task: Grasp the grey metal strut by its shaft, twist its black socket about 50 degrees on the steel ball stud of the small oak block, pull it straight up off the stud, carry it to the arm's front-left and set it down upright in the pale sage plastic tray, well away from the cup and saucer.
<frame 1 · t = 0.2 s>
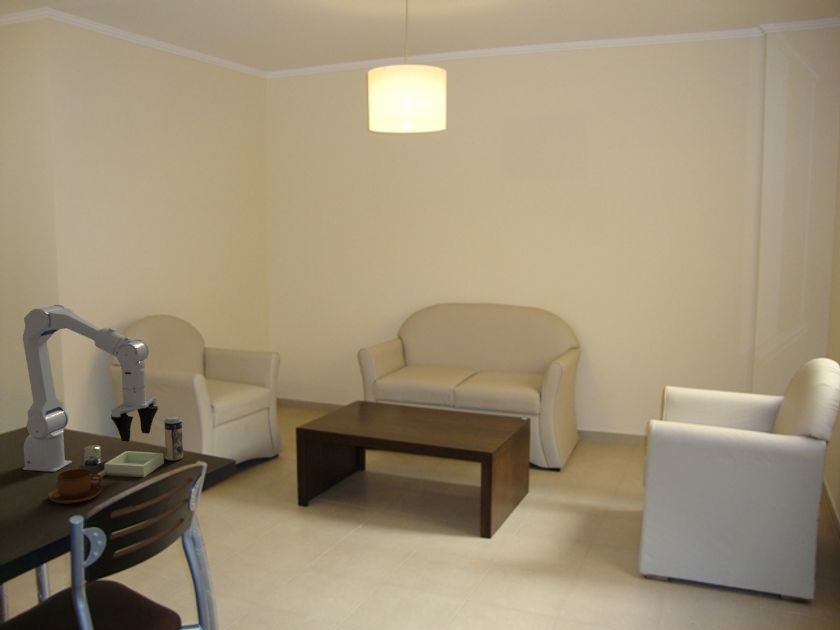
hand: (135, 436, 200), 10 cm above the table, tool pointing down, fingers open, 7 cm apart
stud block: (93, 473, 200), on the table
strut: (93, 470, 200), point 1 cm above the table, touching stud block
tray: (134, 469, 204), on the table
lidded jar: (174, 459, 213), on the table
cup and saucer: (75, 499, 183), on the table
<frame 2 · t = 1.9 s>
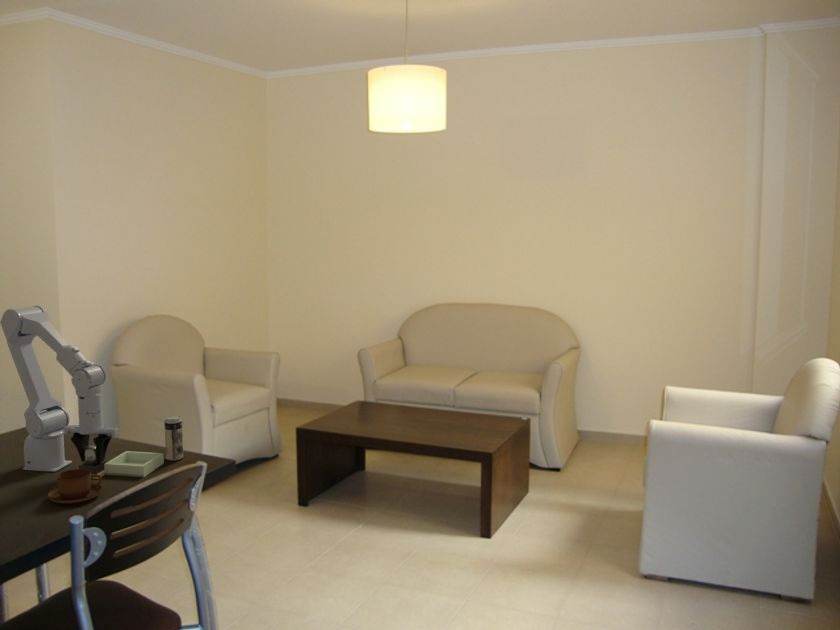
hand: (92, 461, 200), 3 cm above the table, tool pointing down, fingers closed on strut, 4 cm apart
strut: (93, 470, 200), point 1 cm above the table, touching gripper, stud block
everything else where it was.
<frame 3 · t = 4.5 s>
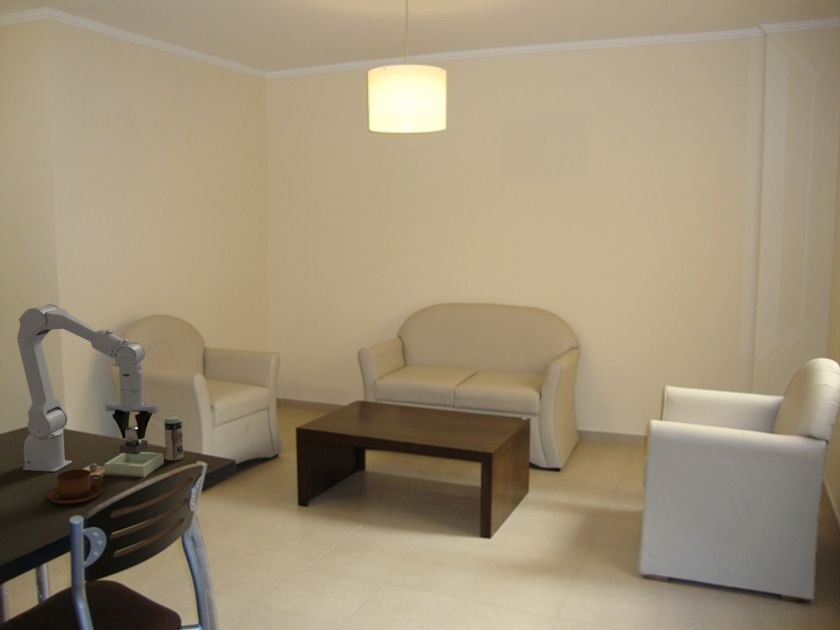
hand: (133, 438, 203), 9 cm above the table, tool pointing down, fingers closed on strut, 4 cm apart
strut: (134, 450, 203), point 5 cm above the table, touching gripper
everything else where it was.
when the fingers open (4 cm above the table, at t = 5.6 s): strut stays where it is, resting on tray.
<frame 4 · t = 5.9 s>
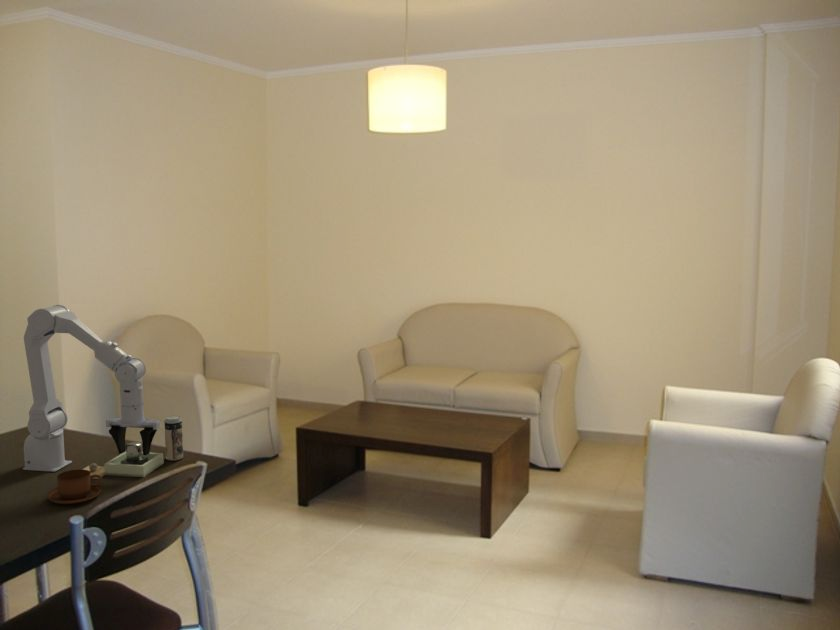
hand: (134, 453, 203), 4 cm above the table, tool pointing down, fingers open, 6 cm apart
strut: (134, 467, 204), point 1 cm above the table, touching tray
everything else where it was.
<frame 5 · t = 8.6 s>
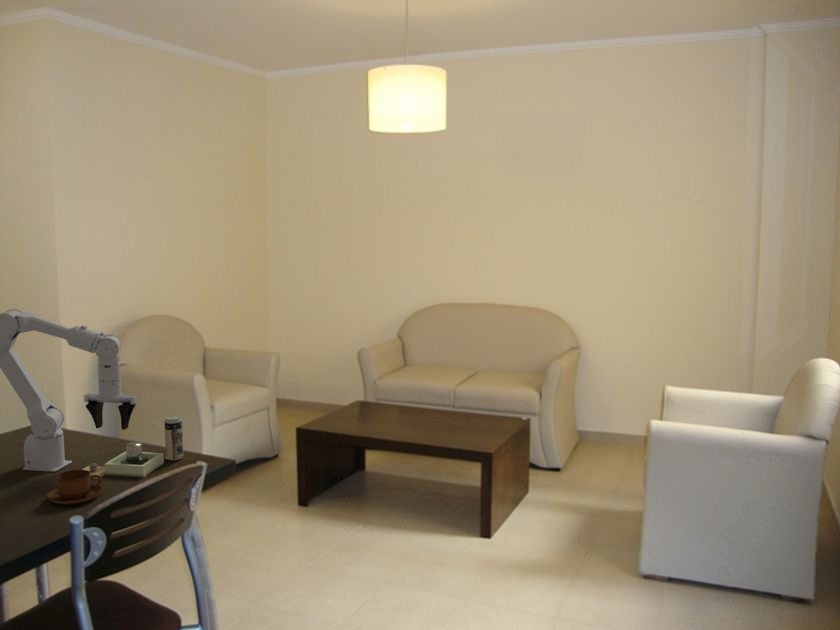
hand: (112, 428, 208), 10 cm above the table, tool pointing down, fingers open, 7 cm apart
nothing on the table moved.
at the end: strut inside the target area on the tray (0.0 cm from its centre), point 0.6 cm above the tray's base; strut tilted 0°; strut touching tray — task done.
